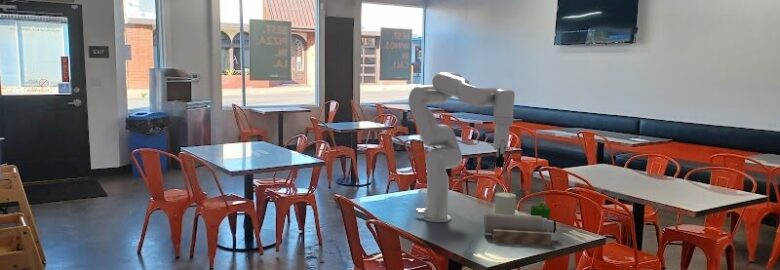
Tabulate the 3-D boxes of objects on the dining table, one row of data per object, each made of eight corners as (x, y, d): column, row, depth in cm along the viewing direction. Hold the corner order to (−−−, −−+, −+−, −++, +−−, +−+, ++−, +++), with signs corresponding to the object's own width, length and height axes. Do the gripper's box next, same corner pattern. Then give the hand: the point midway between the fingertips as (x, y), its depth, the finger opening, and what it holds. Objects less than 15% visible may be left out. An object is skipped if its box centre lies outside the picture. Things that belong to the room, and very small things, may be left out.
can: (510, 224, 258) (511, 197, 257) (490, 220, 263) (491, 194, 261) (517, 219, 266) (519, 193, 264) (498, 216, 271) (499, 190, 269)
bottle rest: (493, 241, 231) (493, 230, 230) (490, 231, 246) (491, 220, 245) (550, 245, 229) (551, 234, 228) (545, 234, 243) (545, 223, 243)
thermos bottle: (483, 234, 242) (553, 238, 239) (485, 231, 234) (557, 235, 232) (484, 214, 244) (553, 218, 242) (485, 211, 237) (557, 215, 234)
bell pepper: (527, 221, 263) (528, 199, 262) (545, 221, 264) (546, 199, 263) (533, 226, 255) (535, 203, 254) (552, 226, 256) (553, 203, 255)
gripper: (492, 118, 240) (489, 163, 243) (494, 122, 226) (491, 170, 228) (510, 119, 240) (507, 164, 242) (514, 123, 225) (510, 171, 227)
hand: (499, 166), depth 235 cm, fingers closed
